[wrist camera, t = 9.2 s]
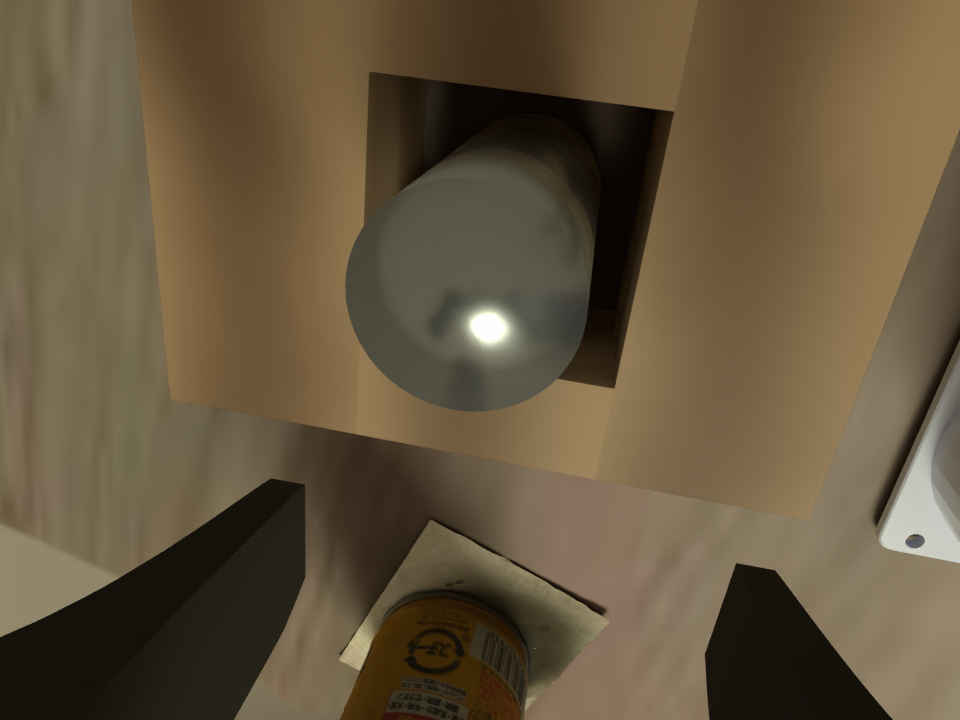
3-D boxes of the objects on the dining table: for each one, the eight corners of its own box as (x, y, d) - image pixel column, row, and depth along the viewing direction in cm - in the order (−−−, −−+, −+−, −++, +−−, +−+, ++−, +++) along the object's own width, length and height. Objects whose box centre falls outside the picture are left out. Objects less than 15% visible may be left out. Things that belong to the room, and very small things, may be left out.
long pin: (611, 121, 19) (605, 194, 10) (589, 268, 20) (569, 427, 12) (460, 105, 19) (344, 164, 11) (451, 250, 21) (345, 392, 13)
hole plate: (904, 2, 16) (1012, -7, 12) (768, 415, 21) (808, 520, 17) (244, -71, 18) (121, -102, 14) (257, 326, 23) (170, 398, 18)
